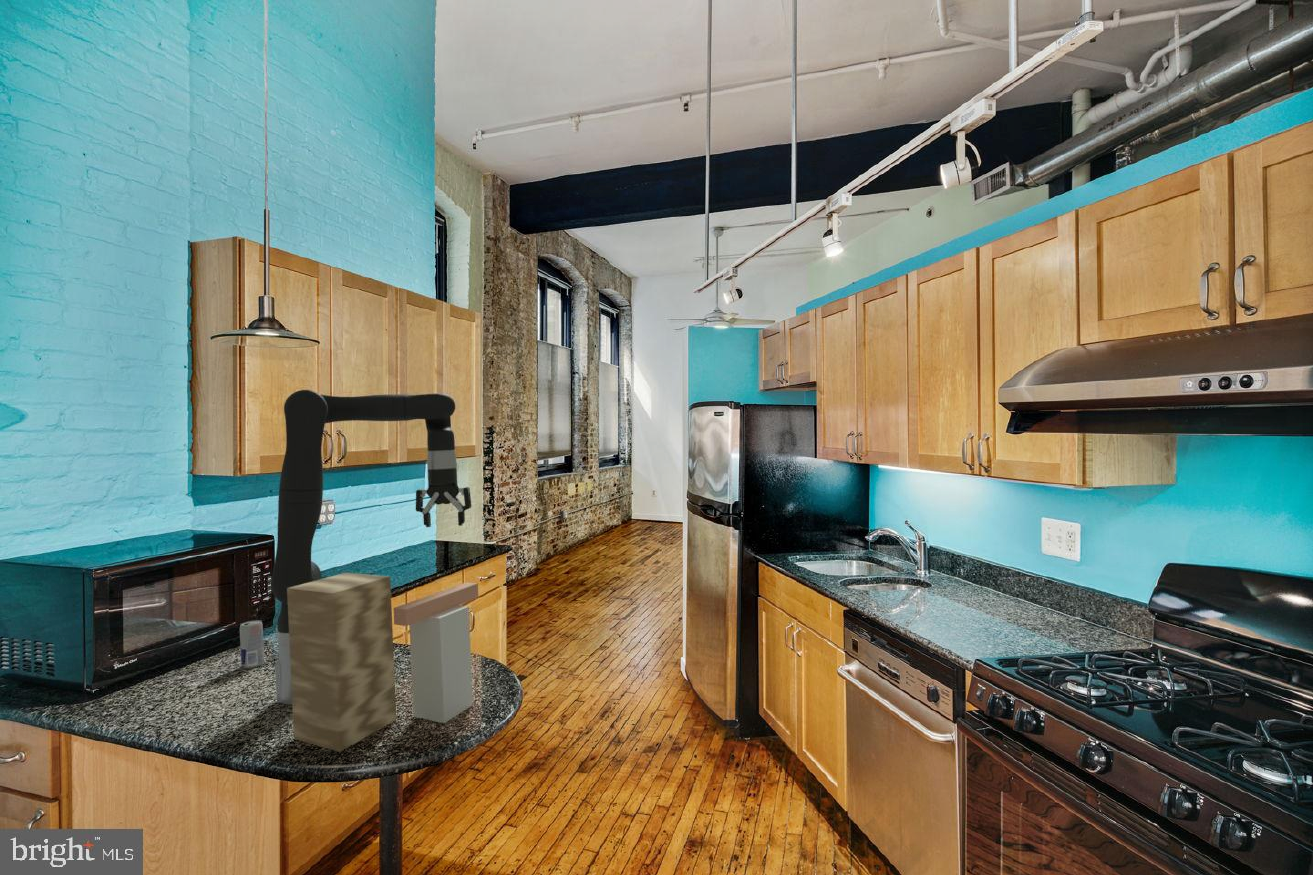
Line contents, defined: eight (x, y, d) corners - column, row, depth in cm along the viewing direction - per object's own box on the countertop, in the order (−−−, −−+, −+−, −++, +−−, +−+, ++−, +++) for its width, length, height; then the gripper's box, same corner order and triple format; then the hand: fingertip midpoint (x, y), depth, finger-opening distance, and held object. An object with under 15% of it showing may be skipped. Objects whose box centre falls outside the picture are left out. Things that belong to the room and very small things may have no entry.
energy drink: (248, 662, 171) (246, 620, 171) (268, 660, 171) (266, 619, 171) (237, 669, 165) (235, 626, 165) (257, 668, 166) (255, 625, 166)
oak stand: (352, 709, 138) (346, 572, 137) (396, 719, 132) (390, 576, 132) (294, 739, 125) (286, 588, 125) (340, 751, 119) (332, 593, 119)
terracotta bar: (467, 596, 146) (466, 582, 146) (478, 597, 145) (477, 583, 145) (394, 624, 126) (393, 607, 126) (406, 626, 125) (405, 609, 125)
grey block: (443, 699, 141) (438, 603, 141) (472, 705, 138) (468, 606, 137) (413, 716, 133) (409, 614, 133) (444, 723, 130) (439, 618, 129)
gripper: (410, 469, 158) (413, 529, 158) (465, 466, 159) (468, 526, 160) (419, 467, 165) (421, 525, 166) (471, 465, 167) (474, 522, 167)
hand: (444, 526), depth 163 cm, fingers open, 8 cm apart
